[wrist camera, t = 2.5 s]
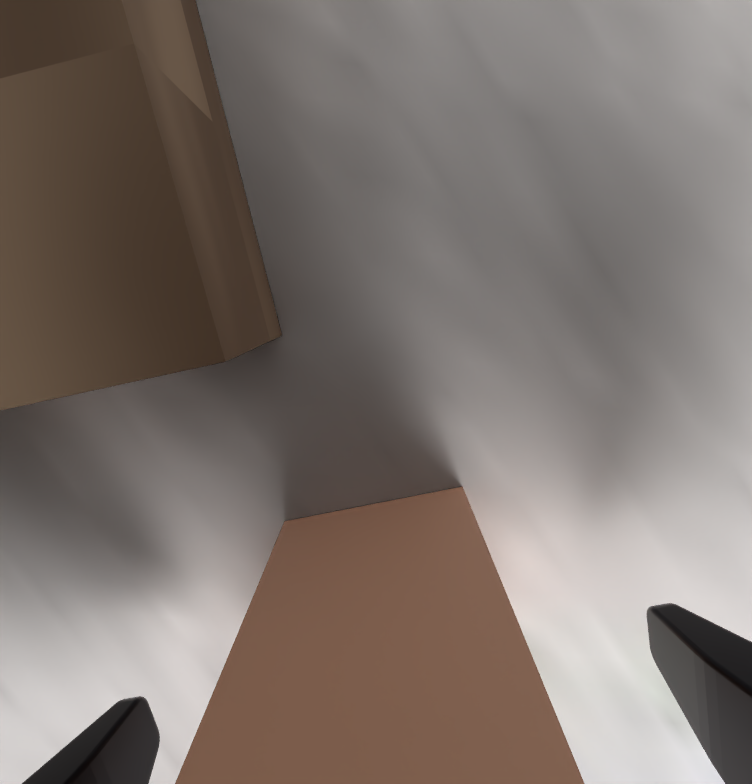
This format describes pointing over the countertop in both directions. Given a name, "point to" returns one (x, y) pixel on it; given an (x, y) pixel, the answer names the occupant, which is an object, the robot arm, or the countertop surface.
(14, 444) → the countertop surface
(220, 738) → the terracotta peg
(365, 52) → the countertop surface
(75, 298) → the walnut socket block
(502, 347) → the countertop surface
